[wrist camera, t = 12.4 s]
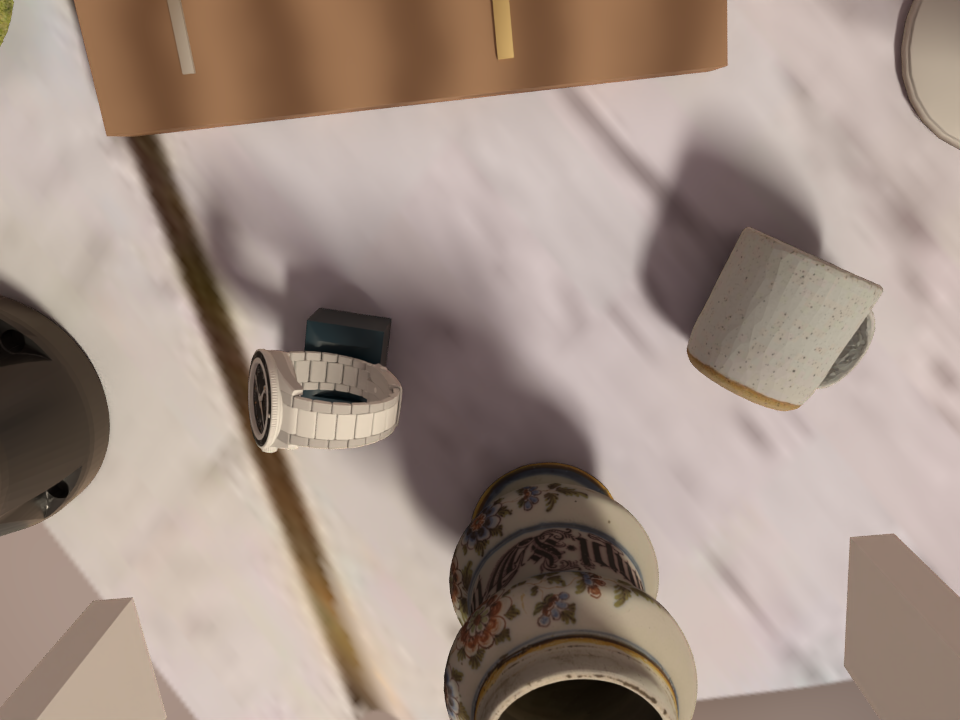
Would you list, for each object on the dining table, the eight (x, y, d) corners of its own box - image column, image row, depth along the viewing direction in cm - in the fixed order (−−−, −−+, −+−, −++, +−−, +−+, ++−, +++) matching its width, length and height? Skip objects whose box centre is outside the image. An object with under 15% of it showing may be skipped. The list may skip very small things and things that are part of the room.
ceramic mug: (663, 345, 43) (701, 387, 36) (726, 217, 41) (780, 235, 34) (817, 406, 45) (884, 459, 37) (887, 284, 42) (972, 315, 35)
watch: (287, 302, 43) (221, 355, 33) (420, 323, 43) (398, 381, 33) (280, 390, 45) (215, 467, 34) (409, 409, 45) (384, 491, 34)
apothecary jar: (538, 640, 50) (564, 905, 32) (416, 526, 47) (373, 746, 30) (676, 535, 47) (783, 761, 30) (554, 408, 45) (594, 574, 27)
